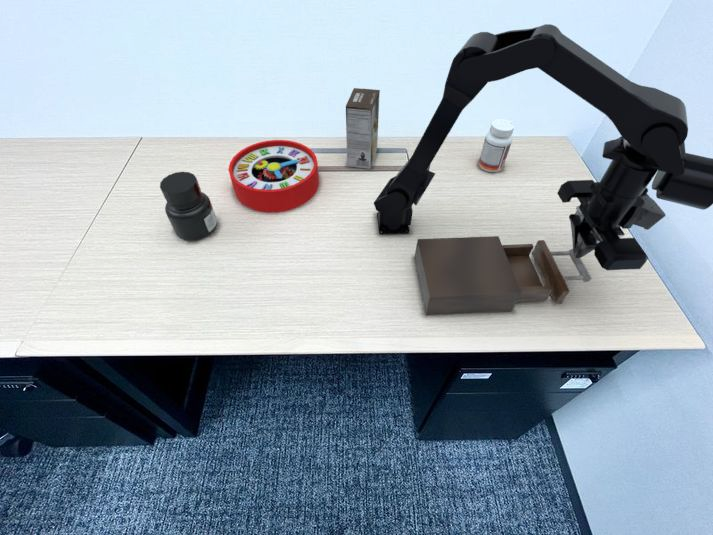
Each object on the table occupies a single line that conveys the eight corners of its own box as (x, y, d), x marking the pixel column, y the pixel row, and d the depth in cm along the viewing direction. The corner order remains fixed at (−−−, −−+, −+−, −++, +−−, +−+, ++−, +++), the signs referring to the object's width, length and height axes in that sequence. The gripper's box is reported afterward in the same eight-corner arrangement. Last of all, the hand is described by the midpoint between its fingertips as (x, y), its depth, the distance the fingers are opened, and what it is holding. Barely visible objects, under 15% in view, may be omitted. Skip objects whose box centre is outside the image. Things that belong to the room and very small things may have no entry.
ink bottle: (224, 234, 84) (208, 188, 75) (182, 249, 81) (160, 204, 72) (210, 207, 89) (193, 162, 80) (170, 221, 86) (148, 176, 77)
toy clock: (219, 152, 93) (298, 132, 99) (225, 173, 98) (301, 152, 104) (242, 202, 82) (331, 176, 87) (248, 223, 86) (332, 197, 92)
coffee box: (353, 146, 105) (353, 86, 93) (377, 149, 105) (380, 89, 92) (346, 166, 100) (345, 105, 87) (371, 170, 99) (373, 108, 87)
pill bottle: (494, 156, 103) (506, 115, 94) (507, 170, 99) (522, 128, 90) (473, 161, 101) (484, 120, 93) (486, 175, 97) (499, 133, 89)
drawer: (562, 252, 80) (571, 238, 77) (589, 302, 72) (600, 289, 68) (465, 255, 79) (470, 241, 76) (481, 307, 71) (487, 293, 68)
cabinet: (490, 255, 80) (498, 236, 76) (511, 311, 71) (521, 292, 67) (414, 258, 80) (417, 238, 75) (425, 315, 71) (429, 296, 66)
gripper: (713, 227, 53) (648, 296, 65) (641, 149, 66) (597, 219, 77) (632, 230, 53) (582, 299, 65) (575, 151, 65) (541, 221, 77)
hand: (577, 256), depth 71 cm, fingers closed
